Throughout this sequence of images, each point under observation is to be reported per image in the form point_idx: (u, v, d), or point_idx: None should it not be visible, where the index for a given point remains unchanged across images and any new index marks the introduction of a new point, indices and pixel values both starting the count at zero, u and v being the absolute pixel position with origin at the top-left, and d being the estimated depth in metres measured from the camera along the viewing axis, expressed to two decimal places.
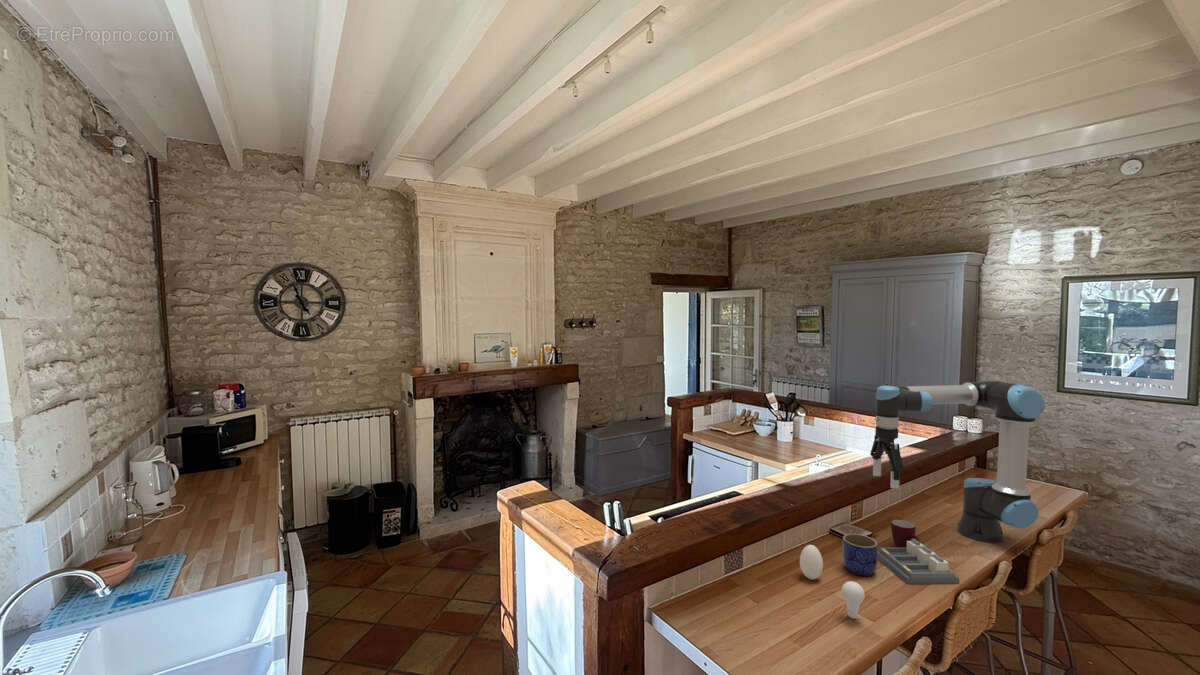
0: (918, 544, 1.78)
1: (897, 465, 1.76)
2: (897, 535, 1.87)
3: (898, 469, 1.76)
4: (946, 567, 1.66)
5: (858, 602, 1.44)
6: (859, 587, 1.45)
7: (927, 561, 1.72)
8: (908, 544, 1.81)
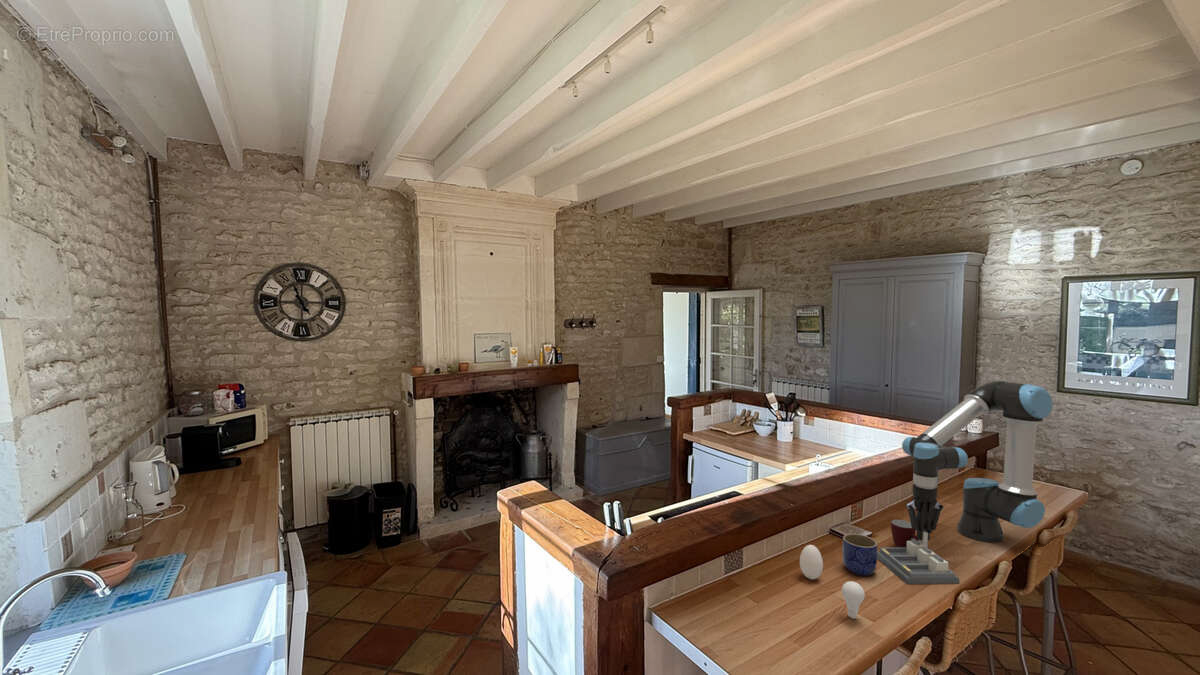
0: (918, 544, 1.78)
1: (911, 523, 1.80)
2: (897, 535, 1.87)
3: (913, 527, 1.80)
4: (946, 567, 1.66)
5: (858, 602, 1.44)
6: (859, 587, 1.45)
7: (927, 561, 1.72)
8: (908, 544, 1.81)
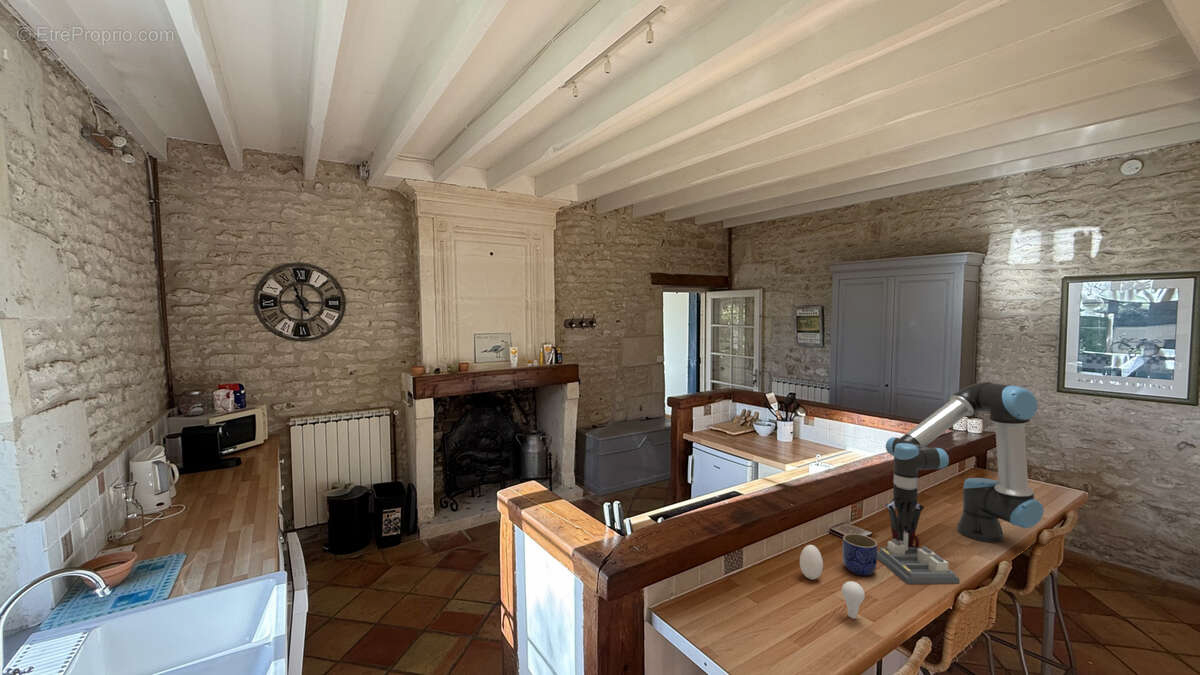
0: (899, 544, 1.78)
1: (892, 524, 1.80)
2: (897, 535, 1.87)
3: None
4: (946, 567, 1.66)
5: (858, 602, 1.44)
6: (859, 587, 1.45)
7: (927, 561, 1.72)
8: (889, 544, 1.81)
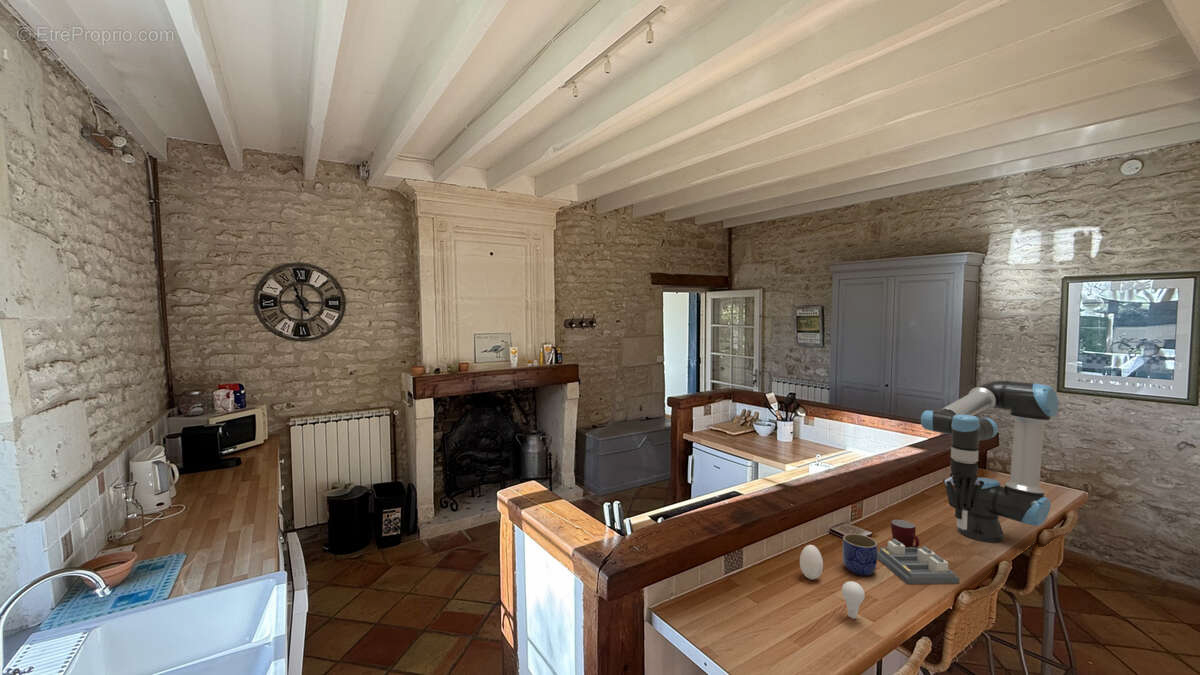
0: (899, 544, 1.78)
1: (949, 501, 1.68)
2: (897, 535, 1.87)
3: (951, 505, 1.68)
4: (946, 567, 1.66)
5: (858, 602, 1.44)
6: (859, 587, 1.45)
7: (927, 561, 1.72)
8: (889, 544, 1.81)
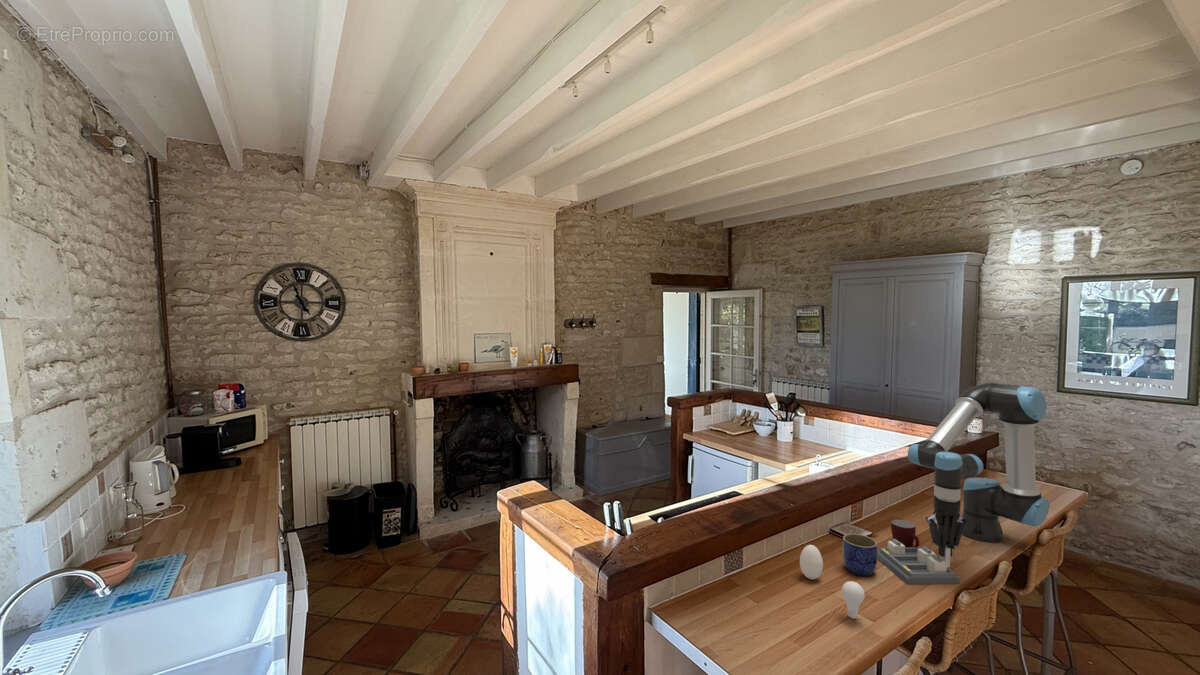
0: (899, 544, 1.78)
1: (933, 539, 1.68)
2: (897, 535, 1.87)
3: (934, 542, 1.68)
4: (945, 567, 1.66)
5: (858, 602, 1.44)
6: (859, 587, 1.45)
7: None
8: (889, 544, 1.81)
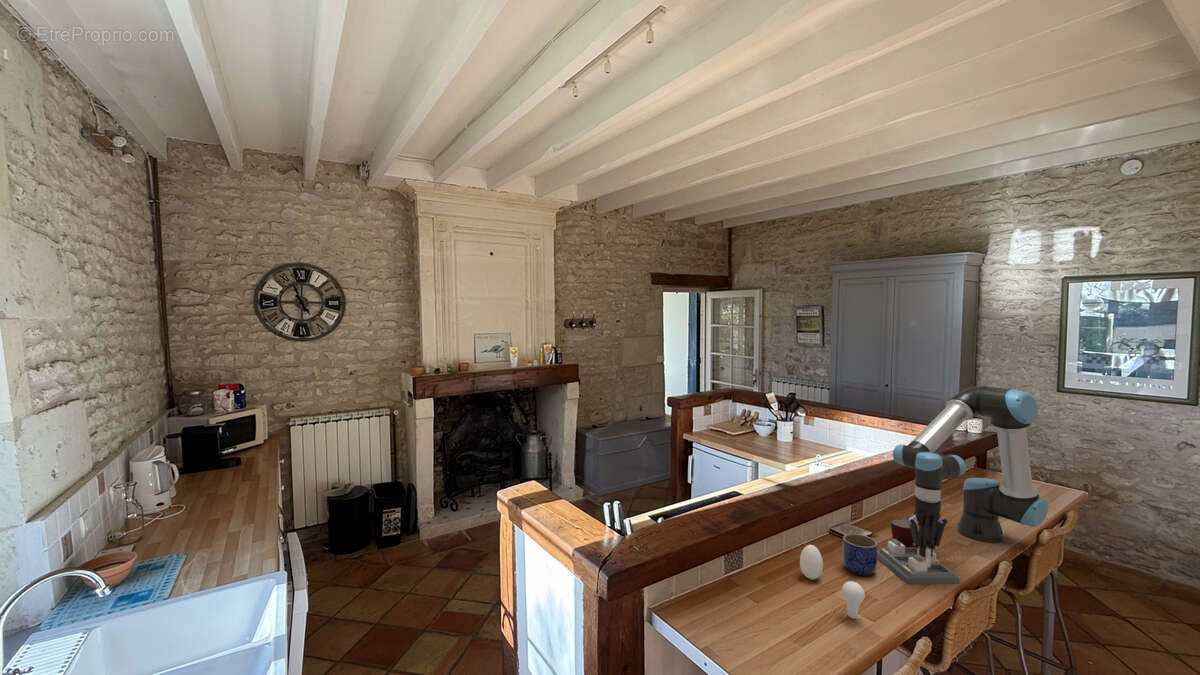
0: (899, 544, 1.78)
1: (913, 539, 1.68)
2: (897, 535, 1.87)
3: (915, 543, 1.68)
4: (925, 567, 1.66)
5: (858, 602, 1.44)
6: (859, 587, 1.45)
7: None
8: (889, 544, 1.81)
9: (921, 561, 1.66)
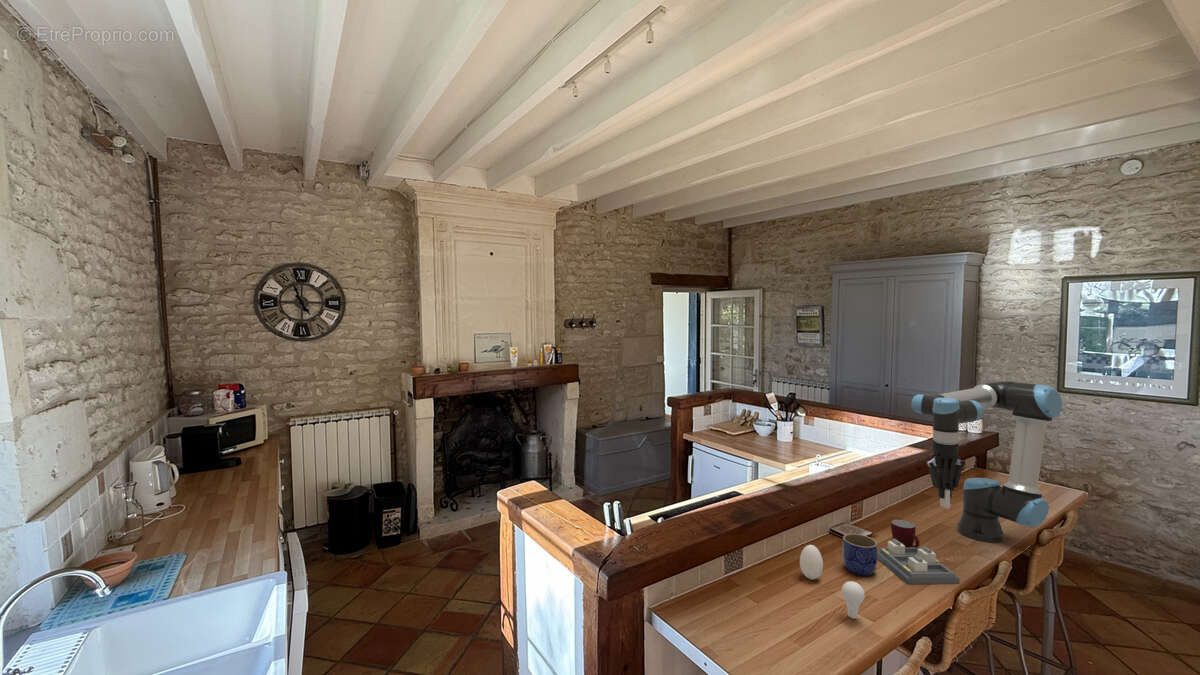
0: (899, 544, 1.78)
1: (933, 482, 1.73)
2: (897, 535, 1.87)
3: (934, 485, 1.73)
4: (925, 567, 1.66)
5: (858, 602, 1.44)
6: (859, 587, 1.45)
7: (927, 561, 1.72)
8: (889, 544, 1.81)
9: (921, 561, 1.66)
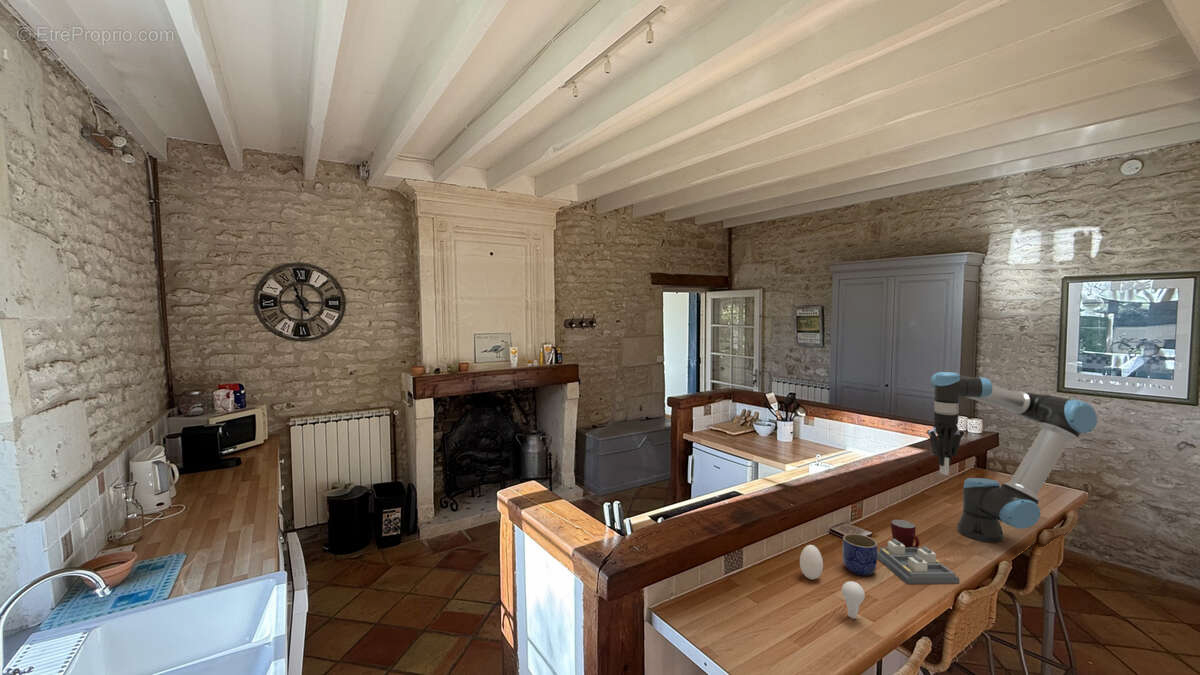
0: (899, 544, 1.78)
1: (933, 450, 1.86)
2: (897, 535, 1.87)
3: (934, 453, 1.86)
4: (925, 567, 1.66)
5: (858, 602, 1.44)
6: (859, 587, 1.45)
7: (927, 561, 1.72)
8: (889, 544, 1.81)
9: (921, 561, 1.66)
